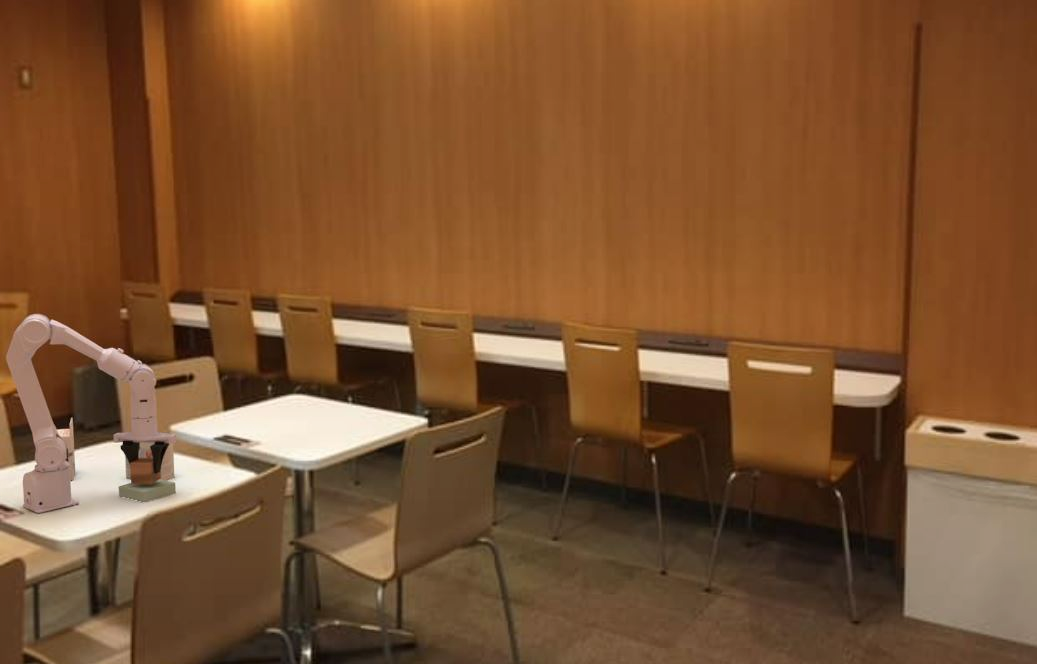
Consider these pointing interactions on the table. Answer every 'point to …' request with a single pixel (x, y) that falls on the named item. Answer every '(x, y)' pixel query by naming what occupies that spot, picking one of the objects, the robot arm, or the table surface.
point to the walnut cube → (143, 471)
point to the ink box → (69, 447)
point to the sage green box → (147, 490)
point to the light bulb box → (145, 452)
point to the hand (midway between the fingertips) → (146, 472)
